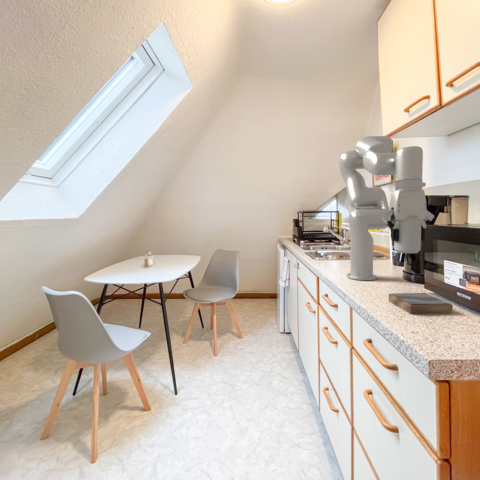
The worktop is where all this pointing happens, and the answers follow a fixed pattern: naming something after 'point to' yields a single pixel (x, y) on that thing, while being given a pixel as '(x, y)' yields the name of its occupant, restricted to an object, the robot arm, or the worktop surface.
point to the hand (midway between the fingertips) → (407, 240)
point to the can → (409, 235)
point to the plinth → (420, 303)
